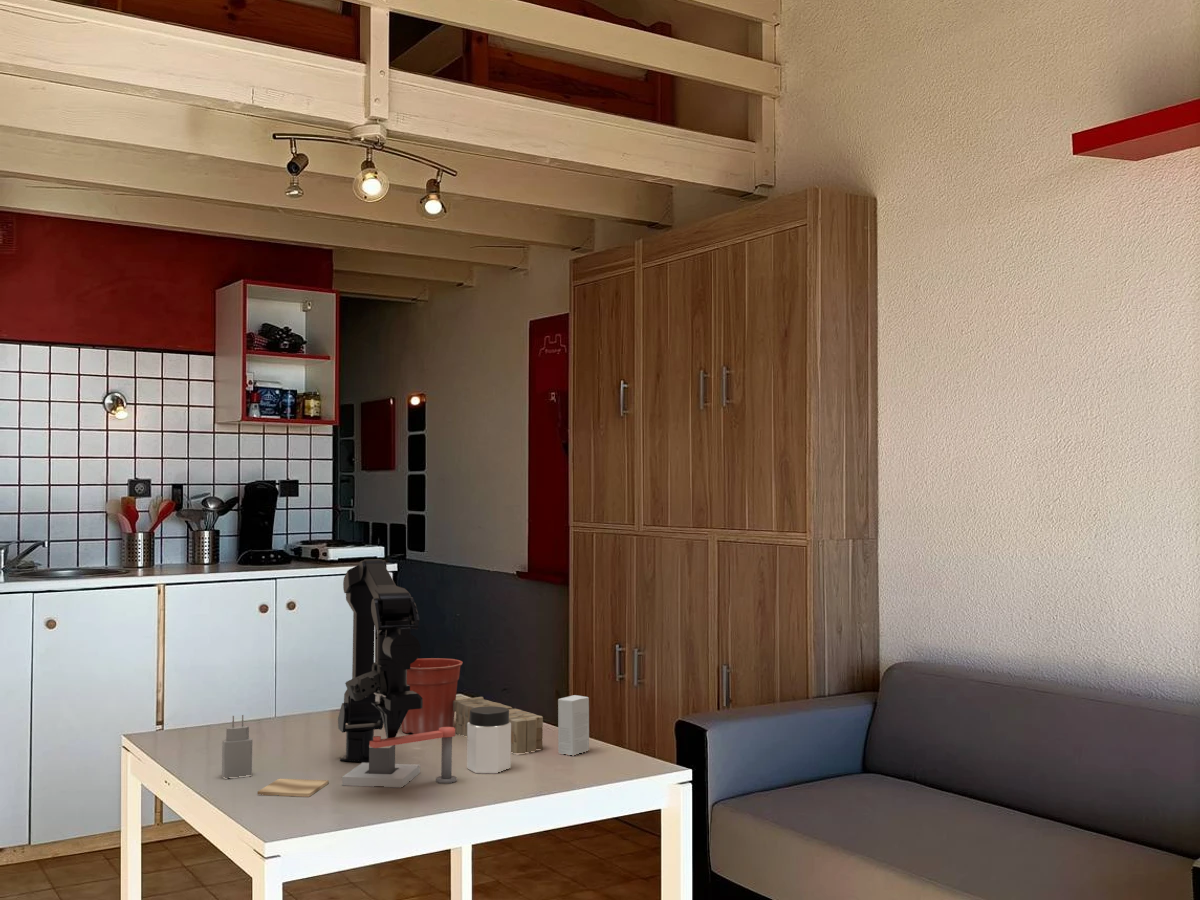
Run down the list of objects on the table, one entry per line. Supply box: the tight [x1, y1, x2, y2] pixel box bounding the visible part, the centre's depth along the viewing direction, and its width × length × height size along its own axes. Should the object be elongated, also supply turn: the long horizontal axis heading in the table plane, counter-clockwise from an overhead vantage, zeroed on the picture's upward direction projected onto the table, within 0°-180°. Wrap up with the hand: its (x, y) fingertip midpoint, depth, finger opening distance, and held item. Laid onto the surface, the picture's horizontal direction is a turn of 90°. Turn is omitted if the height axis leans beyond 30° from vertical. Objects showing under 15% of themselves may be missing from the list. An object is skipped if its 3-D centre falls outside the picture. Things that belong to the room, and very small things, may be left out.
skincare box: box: [557, 694, 590, 755], centre depth 246 cm, size 6×4×12 cm
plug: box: [368, 745, 396, 774], centre depth 223 cm, size 4×4×7 cm
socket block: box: [341, 737, 458, 788], centre depth 222 cm, size 12×21×9 cm, turn 83°
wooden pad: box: [256, 778, 329, 798], centre depth 214 cm, size 10×10×1 cm
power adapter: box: [221, 714, 254, 778], centre depth 224 cm, size 3×5×12 cm, turn 122°
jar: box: [466, 706, 512, 774], centre depth 231 cm, size 9×8×12 cm
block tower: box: [453, 696, 544, 753], centre depth 258 cm, size 8×8×29 cm
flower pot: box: [401, 657, 463, 735], centre depth 270 cm, size 16×16×16 cm
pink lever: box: [370, 726, 456, 748], centre depth 217 cm, size 18×3×2 cm, turn 131°
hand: (390, 740), depth 215 cm, fingers closed
